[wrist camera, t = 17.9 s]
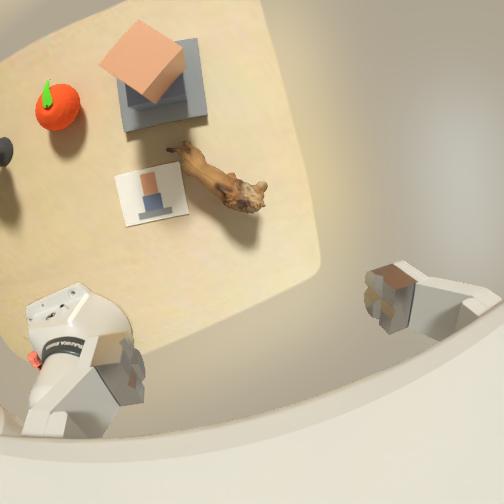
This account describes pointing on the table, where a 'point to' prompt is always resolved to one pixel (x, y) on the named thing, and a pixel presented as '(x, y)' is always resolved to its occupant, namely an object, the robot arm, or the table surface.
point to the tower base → (174, 109)
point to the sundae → (5, 151)
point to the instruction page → (152, 194)
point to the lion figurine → (222, 182)
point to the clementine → (57, 106)
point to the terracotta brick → (145, 61)
